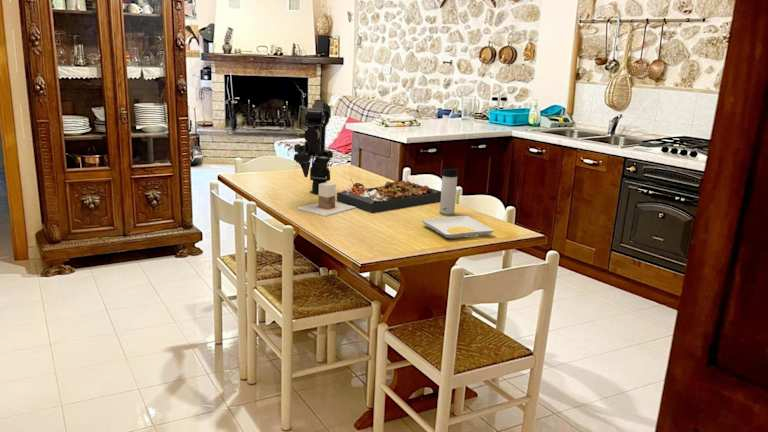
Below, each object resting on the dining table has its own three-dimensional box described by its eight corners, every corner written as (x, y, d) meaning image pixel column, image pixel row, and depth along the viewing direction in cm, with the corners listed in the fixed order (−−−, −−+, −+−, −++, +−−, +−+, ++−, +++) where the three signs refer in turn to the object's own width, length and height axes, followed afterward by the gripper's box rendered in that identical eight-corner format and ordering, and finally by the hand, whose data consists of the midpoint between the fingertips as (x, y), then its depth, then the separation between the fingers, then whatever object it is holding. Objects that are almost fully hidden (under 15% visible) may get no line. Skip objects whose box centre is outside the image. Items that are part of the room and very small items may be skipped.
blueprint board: (327, 201, 277) (327, 199, 277) (356, 208, 268) (356, 206, 268) (296, 209, 262) (296, 207, 261) (325, 216, 253) (325, 215, 252)
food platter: (371, 214, 262) (372, 190, 259) (336, 202, 280) (337, 179, 277) (446, 202, 290) (447, 180, 288) (410, 191, 308) (411, 171, 306)
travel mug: (445, 216, 262) (448, 170, 257) (436, 212, 268) (440, 167, 263) (457, 215, 265) (461, 169, 260) (449, 211, 271) (452, 166, 265)
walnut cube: (326, 205, 268) (326, 193, 267) (335, 207, 265) (335, 195, 264) (318, 207, 264) (318, 195, 263) (327, 209, 261) (327, 197, 260)
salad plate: (445, 242, 228) (446, 233, 227) (419, 226, 247) (420, 218, 246) (494, 238, 237) (495, 229, 236) (465, 223, 255) (466, 215, 254)
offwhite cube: (326, 193, 267) (326, 182, 266) (335, 195, 264) (335, 184, 263) (318, 195, 263) (318, 183, 262) (327, 197, 260) (327, 185, 259)
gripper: (314, 135, 274) (314, 170, 278) (284, 138, 259) (284, 175, 263) (334, 138, 268) (333, 174, 272) (304, 142, 253) (303, 179, 257)
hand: (313, 175), depth 266 cm, fingers open, 9 cm apart
